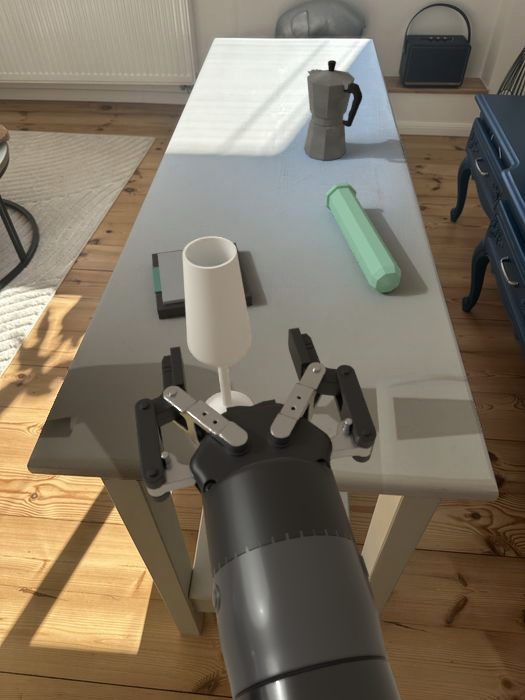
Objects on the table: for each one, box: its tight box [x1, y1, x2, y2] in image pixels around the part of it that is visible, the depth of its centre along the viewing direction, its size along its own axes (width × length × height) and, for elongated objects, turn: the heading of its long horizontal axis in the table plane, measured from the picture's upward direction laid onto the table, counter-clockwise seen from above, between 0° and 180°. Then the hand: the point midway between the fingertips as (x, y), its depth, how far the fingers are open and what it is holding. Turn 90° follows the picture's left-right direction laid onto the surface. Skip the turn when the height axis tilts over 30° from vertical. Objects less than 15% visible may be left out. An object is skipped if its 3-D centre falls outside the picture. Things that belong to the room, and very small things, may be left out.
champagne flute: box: [182, 235, 255, 414], centre depth 51 cm, size 7×7×24 cm
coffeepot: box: [303, 59, 363, 161], centre depth 99 cm, size 15×9×18 cm, turn 36°
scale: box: [151, 242, 253, 320], centre depth 76 cm, size 14×14×2 cm
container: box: [324, 182, 402, 294], centre depth 80 cm, size 6×6×25 cm
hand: (236, 345), depth 35 cm, fingers open, 8 cm apart
